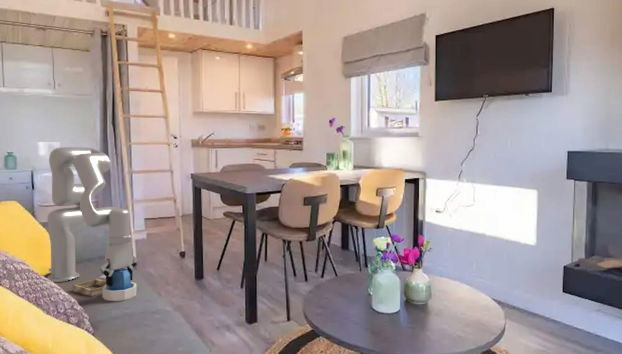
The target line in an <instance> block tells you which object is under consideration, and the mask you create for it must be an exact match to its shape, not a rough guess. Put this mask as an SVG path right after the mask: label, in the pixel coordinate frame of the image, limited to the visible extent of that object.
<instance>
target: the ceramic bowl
mask: <svg viewBox="0 0 622 354" xmlns="http://www.w3.org/2000/svg"><path fill="white" fill-rule="evenodd" d="M137 285H138V284H137V283H136V282H133V281H131V288H129V289H126V290H117V291H111V290H108V285H105V286H104V288H103V293H102V299H103V300H105V301H107V300H108V302H123V301H127V300H131V299H133V298H135V297H136V295H137V291H138V290H137V287H138V286H137Z"/></svg>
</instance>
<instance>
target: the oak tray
mask: <svg viewBox="0 0 622 354" xmlns="http://www.w3.org/2000/svg"><path fill="white" fill-rule="evenodd" d="M94 284H97V285H100V286H99V287H97V288H92V289H91V288H90V287H88V286H91V285H94ZM97 285H96V286H97ZM105 285H106V281H103V280H99V278H94V279H90V280H86V281H83V282H80V283H76V284H73V285H72V291H73V292H75V293H79V294H82V295H86V296H89V297H95V296H98V295H101V294H100V293H102V294H103V288H104V286H105ZM94 286H95V285H94ZM101 286H103V287H101ZM86 287H87V288H86ZM91 287H92V286H91ZM97 294H98V295H97ZM94 295H95V296H94Z"/></svg>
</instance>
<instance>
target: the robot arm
mask: <svg viewBox="0 0 622 354" xmlns="http://www.w3.org/2000/svg"><path fill="white" fill-rule="evenodd" d="M48 162H49V167H50V170H51V175H52V176H51V200H52V203H53V204H54V205H55V206H59V207H63V208H58V209H53V210H52V211H50V212H49V213H48V215H47V220H46V221H47V225H48V229H49V236H50V237H49V238H50V268H48V271H49V272H50V274H49V275H48V276H47V278H48V279H50V280H52V281H53V283H60V282H61V283H62V282H69V281H68V280H70V281H73V280H72V279H74V280H76V279H78V278H79V277H80V273H79V272H77V271H76V239H75V236H74V234H73V233H72V232H71V231H70V230H73V229H78V228H84V227H87V226H88V227H90V228H100V227H105V226H108V244H107V245H106V248H105V253H104V254H105V256H104V262H103V263H102V264H101V265H100V266H99V270H100V272H101V274H102V275H105V276H106V285H108V286H113V276H111V275H112V274H113V272H114V270H117V269H121V268H123V269H127V270H128V271H129V273H130V274H131V281H133V271H134V270H135V267H136V265H137V263H138V260H139V258H138V257H136V256H135V255H133V248H132V243H131V241H130V239H131V238H132V235H131V234H130V211H129V210H128V209H126V208H121V207H119V206H106V207H105V206H104V207H97V208H96V207H95V208H94V206H93V203H92V196H93V195H95V194H97V193H99V192H100V191H102V190H103V189H104V188H105V187H106V184H107V182H106V180H105V178H104V176H103V173H107V172H108V171H110V169H111V168H112V167H111V166H112V164H111V160H110V158H109V156H108V155H107V154H106V153H105V152H102V151H100V150H98V149H95V148H92V147H76V146H75V147H74V146H73V147H72V146H69V147H67V146H66V147H65V146H63V147H62V146H61V147H56V148H54V149H53V150H51V152H50V154H49V158H48ZM71 167H74V168H75V171H76V173H77V175H78V178H79V180H80V183H75V175H74V172H73V170H72V169H71ZM64 206H65V207H64ZM66 206H72V207H66ZM73 206H75V207H73ZM77 277H78V278H77ZM47 278H46V279H47ZM75 278H76V279H75Z"/></svg>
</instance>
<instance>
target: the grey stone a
mask: <svg viewBox="0 0 622 354" xmlns="http://www.w3.org/2000/svg"><path fill="white" fill-rule="evenodd" d="M98 279H99V280H106V276H105V275H104V274H102V275H101V276H99V277H98Z"/></svg>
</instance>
